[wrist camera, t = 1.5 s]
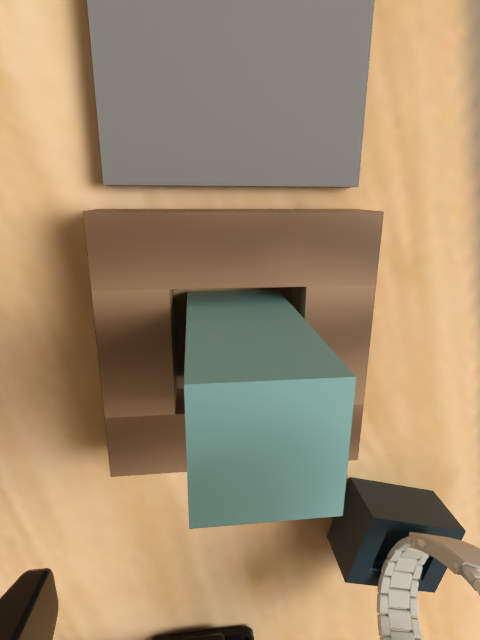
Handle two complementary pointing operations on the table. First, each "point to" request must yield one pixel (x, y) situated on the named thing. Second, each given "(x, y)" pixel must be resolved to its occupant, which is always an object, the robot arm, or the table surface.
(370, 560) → the watch
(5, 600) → the robot arm
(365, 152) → the table surface
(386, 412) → the table surface
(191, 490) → the peg
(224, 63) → the pad
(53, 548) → the table surface
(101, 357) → the pocket
